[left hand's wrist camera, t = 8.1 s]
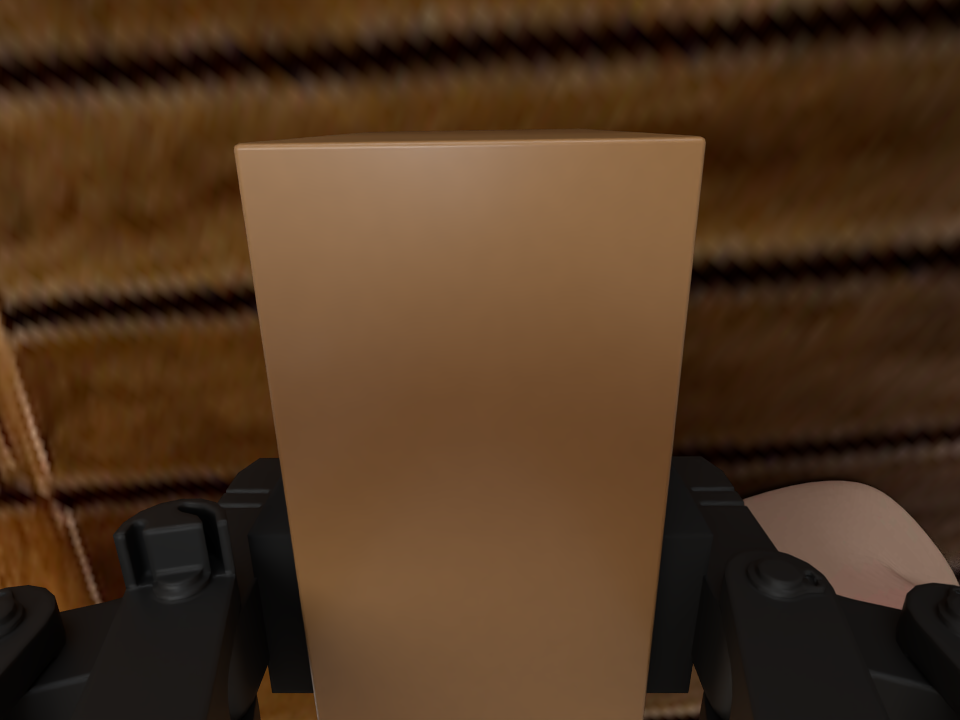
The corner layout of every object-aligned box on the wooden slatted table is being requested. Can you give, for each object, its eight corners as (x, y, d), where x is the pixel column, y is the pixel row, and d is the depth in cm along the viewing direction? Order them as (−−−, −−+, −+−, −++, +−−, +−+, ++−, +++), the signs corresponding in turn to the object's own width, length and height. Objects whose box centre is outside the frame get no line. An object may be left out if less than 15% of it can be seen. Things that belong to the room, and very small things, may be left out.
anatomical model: (670, 607, 25) (943, 470, 23) (645, 546, 29) (878, 422, 27) (800, 793, 29) (1044, 690, 27) (763, 717, 33) (975, 622, 31)
